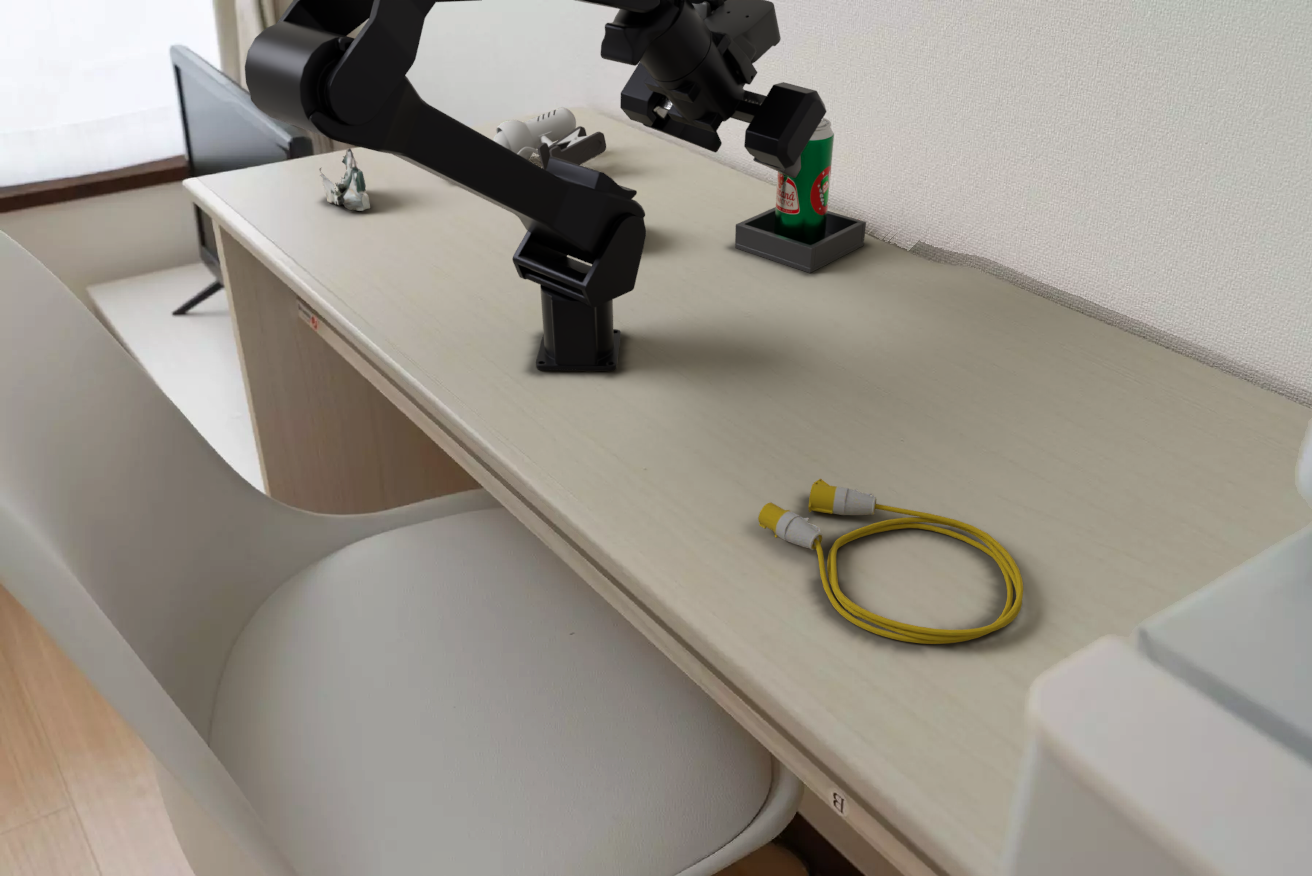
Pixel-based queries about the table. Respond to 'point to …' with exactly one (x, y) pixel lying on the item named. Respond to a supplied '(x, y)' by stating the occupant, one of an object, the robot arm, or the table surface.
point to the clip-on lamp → (551, 138)
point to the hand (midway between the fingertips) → (756, 160)
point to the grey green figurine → (348, 186)
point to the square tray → (763, 242)
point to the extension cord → (864, 504)
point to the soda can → (806, 191)
